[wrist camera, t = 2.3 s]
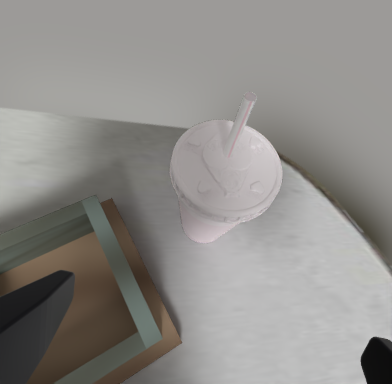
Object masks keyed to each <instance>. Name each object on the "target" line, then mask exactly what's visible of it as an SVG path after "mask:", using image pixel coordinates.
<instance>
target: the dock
mask: <svg viewBox="0 0 392 384" xmlns="http://www.w3.org/2000/svg"><path fill="white" fill-rule="evenodd" d="M58 270H66V271H70V272H73V273H74V274H75V285H74V295H73V299H72V302H71V304H70V306H69V308H68V310H67V312H66V314H65V316H64V318H63V320H62V322H61V324H60V326H59V328H58V330H57V332H56V334H55V336H54V338H53V339H52V341H51V343H50V345H49V347H48V349H47V351H46V353H45V355H44V356H43V358H42V360H41V361H40V363H39V364H38V366H37V368H36V369H35V371H34V372H33V374H32V375H31V377H30V378H29V380H28V381H27V383H26V384H120V383H122V382H123V381H125V380H126V379H128V378H129V377H131V376H132V375H134V374H135V373H137V372H138V371H140V370H141V369H143V368H145V367H146V366H148V365H149V364H151V363H152V362H154V361H155V360H157V359H158V358H160V357H161V356H163V355H164V354H166V353H167V352H169V351H170V350H172V349H173V348H175V347H176V346H178V345H179V344H181V343H182V341H181V339H180V337H179V335H178V333H177V331H176V329H175V327H174V325H173V323H172V321H171V319H170V317H169V315H168V313H167V310H166V308H165V306H164V304H163V302H162V300H161V298H160V296H159V294H158V292H157V290H156V288H155V286H154V284H153V282H152V280H151V278H150V276H149V273H148V271H147V269H146V267H145V265H144V263H143V261H142V259H141V257H140V255H139V253H138V251H137V249H136V247H135V245H134V243H133V241H132V239H131V236H130V234H129V232H128V230H127V228H126V226H125V224H124V222H123V220H122V218H121V216H120V214H119V212H118V210H117V208H116V206H115V204H114V202H113V200H112V198H111V199H109V200H107V201H104V202H102V203H100V202H99V200H98V198H97V196H96V195H94V196H91V197H89V198H87V199H84V200H82V201H79V202H77V203H75V204H72V205H70V206H67V207H65V208H63V209H60V210H58V211H55V212H53V213H50V214H48V215H46V216H43V217H41V218H38V219H36V220H34V221H31V222H29V223H26V224H24V225H22V226H19V227H17V228H14V229H12V230H10V231H7V232H5V233H2V234H0V296H3V295H5V294H7V293H9V292H12V291H14V290H16V289H18V288H21V287H23V286H25V285H27V284H29V283H32V282H34V281H36V280H38V279H41V278H43V277H45V276H47V275H49V274H52V273H54V272H56V271H58Z"/></svg>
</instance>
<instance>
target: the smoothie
mask: <svg viewBox="0 0 392 384" xmlns="http://www.w3.org/2000/svg"><path fill="white" fill-rule="evenodd" d="M256 99H257V97H256V95H255V94H254V93H252V92H247V93H245V94H244V96H243V99H242V102H241V104H240V107H239V110H238V113H237V115H236V118H235V121H229V120H210V121H205V122H202V123H199V124H197V125H195V126H193V127H191V128H190V129H188V130H187V131H186V132H185V133H183V134H182V136H181V137H180V138H179V139H178V141H177V143H176V144H175V147H174V149H173V153H172V158H171V163H170V177H171V183H172V186H173V188H174V190H175V192H176V194H177V196H178V199H179V206H180V214H181V221H182V227H183V230H184V232H185V234H186V235H187V236H188V237H189V238H190V239H192V240H193V241H195V242H198V243H210V242H213V241H215V240H216V239H218V238H219V237H220V236H222V235H223V234H224V233H226V232H227V231H229V230H230V229H231V228H233V227H234V226H236V225H237V224H238V223H241V222H247V221H249V220H251V219H253V218H255V217H258V216H259V215H261V214H262V213H263V212H264V211H265V210H266V209H267V208H269V206H270V205H271V203H272V201H273V200H274V199H275V197H276V196H277V194H278V192H279V190H280V187H281V184H282V177H283V172H282V165H281V161H280V158H279V156H278V154H277V152H276V150H275V149H274V147H273V146H272V144H271V143H270V142H269V141H268V140H267V139H266V138H265V137H264V136H263V135H262V134H260V133H259V132H258V131H256V130H255V129H253V128H251V127H249V126H247V125H246V122H247V120H248V118H249V115H250V113H251V111H252V108H253V106H254V104H255V101H256Z"/></svg>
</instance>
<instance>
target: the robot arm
mask: <svg viewBox="0 0 392 384" xmlns="http://www.w3.org/2000/svg"><path fill="white" fill-rule="evenodd" d="M74 285H75V274H74V273H73V272H70V271H66V270H58V271H56V272H54V273H52V274H49V275H47V276H45V277H43V278H41V279H38V280H36V281H34V282H32V283H29V284H27V285H25V286H23V287H21V288H18V289H16V290H14V291H12V292H9V293H7V294H5V295H3V296H0V384H26V383H27V381H28V380H29V378H30V377H31V375H32V374H33V372H34V371H35V369H36V368H37V366H38V364H39V363H40V361H41V360H42V358H43V356H44V355H45V353H46V351H47V349H48V347H49V345H50V343H51V341H52V339H53V338H54V336H55V334H56V332H57V330H58V328H59V326H60V324H61V322H62V320H63V318H64V316H65V314H66V312H67V310H68V308H69V306H70V304H71V302H72V299H73V295H74ZM361 366H362V369H363V372H364V375H365V378H366V381H367V384H392V342H391V341H390V340H388V339H384V338H380V337H373V338H371V339H370V341H369V343H368V345H367V346H366V348H365V350H364V352H363V354H362V356H361Z"/></svg>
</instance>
